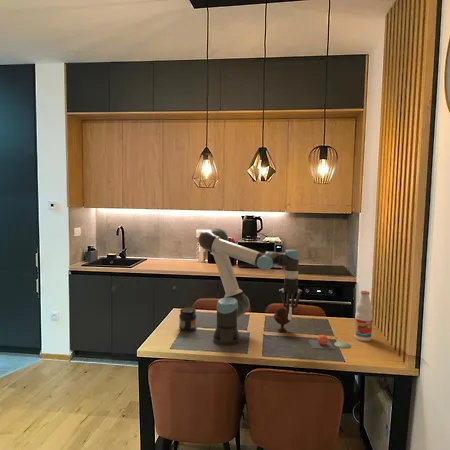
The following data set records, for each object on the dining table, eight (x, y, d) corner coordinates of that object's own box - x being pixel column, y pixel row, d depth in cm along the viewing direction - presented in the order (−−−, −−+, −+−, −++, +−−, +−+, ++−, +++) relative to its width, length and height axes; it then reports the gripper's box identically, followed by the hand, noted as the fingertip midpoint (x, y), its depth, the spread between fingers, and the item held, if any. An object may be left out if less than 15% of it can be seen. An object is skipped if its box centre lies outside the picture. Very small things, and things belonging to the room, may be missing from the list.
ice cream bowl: (291, 334, 225) (292, 310, 224) (272, 333, 227) (273, 308, 226) (291, 328, 236) (292, 305, 234) (273, 327, 238) (274, 303, 237)
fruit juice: (366, 335, 227) (369, 289, 225) (374, 341, 218) (376, 293, 215) (351, 335, 226) (353, 289, 224) (358, 341, 217) (360, 293, 215)
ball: (318, 337, 208) (328, 337, 208) (316, 333, 213) (326, 333, 213) (319, 347, 208) (329, 346, 208) (316, 343, 214) (326, 342, 214)
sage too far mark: (336, 348, 207) (336, 347, 207) (332, 341, 216) (332, 341, 216) (353, 348, 207) (353, 348, 207) (348, 342, 216) (348, 341, 216)
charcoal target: (312, 348, 205) (312, 348, 205) (308, 340, 217) (308, 339, 217) (334, 349, 205) (334, 348, 205) (329, 340, 217) (329, 340, 217)
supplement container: (199, 328, 233) (200, 309, 232) (188, 333, 224) (188, 313, 223) (187, 324, 239) (187, 306, 238) (175, 329, 230) (175, 310, 229)
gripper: (280, 278, 205) (278, 321, 207) (304, 279, 205) (302, 321, 207) (278, 276, 213) (277, 316, 214) (301, 276, 212) (300, 317, 214)
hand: (289, 319), depth 211 cm, fingers closed
